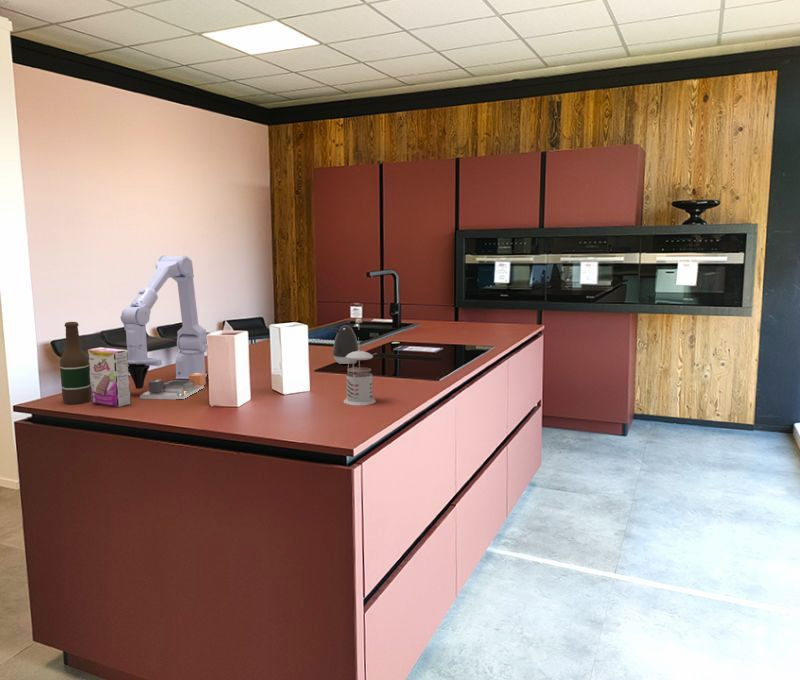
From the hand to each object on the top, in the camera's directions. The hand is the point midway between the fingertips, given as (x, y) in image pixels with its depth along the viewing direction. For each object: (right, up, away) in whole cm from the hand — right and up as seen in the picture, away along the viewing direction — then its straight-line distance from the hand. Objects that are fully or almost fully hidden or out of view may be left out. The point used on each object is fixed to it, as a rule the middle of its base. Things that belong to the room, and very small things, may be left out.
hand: (139, 388), depth 204 cm
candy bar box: (-4, -4, -11) cm, 12 cm away
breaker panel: (+10, -2, +2) cm, 10 cm away
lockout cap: (+14, 0, +13) cm, 19 cm away
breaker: (+5, -1, -1) cm, 6 cm away
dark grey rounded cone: (+60, +5, +53) cm, 80 cm away
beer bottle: (-16, -4, -8) cm, 18 cm away
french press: (+69, -3, -8) cm, 70 cm away
